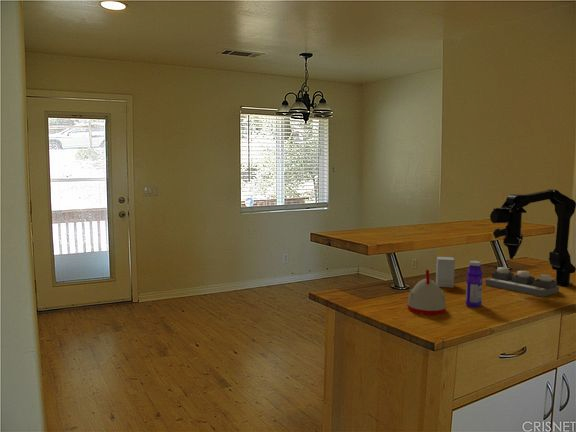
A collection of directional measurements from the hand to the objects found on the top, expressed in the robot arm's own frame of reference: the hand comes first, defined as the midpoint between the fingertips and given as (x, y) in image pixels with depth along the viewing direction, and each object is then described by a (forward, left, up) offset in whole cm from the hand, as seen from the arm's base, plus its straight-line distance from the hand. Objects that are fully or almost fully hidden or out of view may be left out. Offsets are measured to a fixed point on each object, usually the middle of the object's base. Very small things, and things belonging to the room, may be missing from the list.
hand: (512, 257), depth 219 cm
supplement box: (+22, -20, -14) cm, 32 cm away
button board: (-1, +4, -13) cm, 14 cm away
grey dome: (+60, -2, -14) cm, 61 cm away
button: (-2, -5, -9) cm, 10 cm away
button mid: (-2, +4, -9) cm, 10 cm away
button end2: (-2, +14, -9) cm, 16 cm away
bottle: (+41, +6, -14) cm, 43 cm away
